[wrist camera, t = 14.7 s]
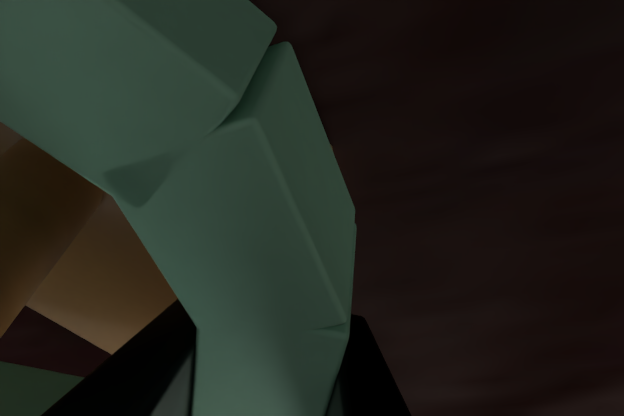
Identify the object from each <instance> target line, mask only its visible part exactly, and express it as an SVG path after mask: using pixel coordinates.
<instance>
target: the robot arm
mask: <svg viewBox="0 0 624 416" xmlns="http://www.w3.org/2000/svg"><path fill="white" fill-rule="evenodd" d="M196 331H197V327H196V326H195V324H194V322H193V321H192V319H191V318H190V316H189V315H188V313H187V312H186V310H185V308H184V307H183V305H182V304H181V302H180V301H179V299H177V300H176V301H174V302H173V303H172V304H171V305H170V306H169V307H167V308H166V309H165V310H164V311H163V312H161V313H160V314H159V315H158V316H157V317H156V318H154V319H153V320H152V321H151V322H150V323H149V324H147V325H146V326H145V327H144V328H143V329H142V330H140V331H139V332H138V333H137V334H136V335H134V336H133V337H132V338H131V339H130V340H129V341H127V342H126V343H125V344H124V345H123V346H122V347H120V348H119V349H118V350H117V351H116V352H114V353H113V354H112V355H111V356H110V357H109V358H107V359H106V360H105V361H104V362H103V363H102V364H100V365H99V366H98V367H97V368H96V369H94V370H93V371H92V372H91V373H90V374H89V375H87V376H86V377H85V378H84V379H83V380H82V381H80V382H79V383H78V384H77V385H76V386H74V387H73V388H72V389H71V390H70V391H69V392H67V393H66V394H65V395H64V396H63V397H62V398H60V399H59V400H58V401H57V402H56V403H55V404H53V405H52V406H51V407H50V408H49V409H47V410H46V411H45V412H44V413H43V414H42V415H40V416H191V403H192V390H193V376H194V363H195V349H196ZM325 416H411V414H410V412H409V410H408V408H407V406H406V404H405V401H404V399H403V397H402V395H401V393H400V391H399V389H398V387H397V385H396V383H395V380H394V378H393V376H392V374H391V372H390V370H389V368H388V366H387V364H386V362H385V360H384V357H383V355H382V353H381V351H380V349H379V347H378V345H377V343H376V341H375V339H374V336H373V334H372V332H371V330H370V328H369V326H368V324H367V322H366V320H365V318H363V317H362V316H358V315H353V314H351V318H350V333H349V339H348V343H347V346H346V350H345V353H344V356H343V360H342V363H341V366H340V370H339V372H338V374H337V378H336V381H335V384H334V388H333V391H332V395H331V398H330V401H329V405H328V408H327V411H326V415H325Z"/></svg>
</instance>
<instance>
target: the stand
mask: <svg viewBox="0 0 624 416" xmlns="http://www.w3.org/2000/svg"><path fill="white" fill-rule="evenodd" d="M330 146H331V148H332V149H333V147H332V145H331V144H330ZM177 299H178V298H177V296H176V295H175V293H174V291H173V290H172V288H171V287H170V285H169V284H168V282H167V281H166V279H165V277H164V276H163V274H162V273H161V271H160V270H159V268H158V267H157V265H156V263H155V262H154V260H153V259H152V257H151V256H150V254H149V253H148V251H147V249H146V248H145V246H144V245H143V243H142V242H141V240H140V239H139V237H138V235H137V234H136V232H135V231H134V229H133V228H132V226H131V225H130V223H129V222H128V220H127V218H126V217H125V215H124V214H123V212H122V211H121V209H120V208H119V206H118V204H117V203H116V201H115V200H114V198H113V197H112V196H111V195H109V194H108V193H106V192H105V191H103V190H102V189H100V188H99V187H97V186H96V185H94V184H93V183H91V182H90V181H88V180H87V179H85V178H84V177H82V176H81V175H80V174H78V173H77V172H75V171H74V170H72V169H71V168H69V167H68V166H66V165H65V164H63V163H62V162H60V161H59V160H57V159H56V158H54V157H53V156H51V155H50V154H48V153H47V152H45V151H44V150H42V149H41V148H39V147H38V146H36V145H35V144H33V143H32V142H30V141H29V140H27V139H26V138H24V137H23V136H21V135H20V134H18V133H17V132H15V131H14V130H12V129H11V128H9V127H8V126H6V125H5V124H3V123H2V122H0V338H1V337H2V335H3V334H4V333H5V331H6V330H7V329H8V327H9V326H10V325H11V323H12V322H13V321H14V319H15V318H16V317H17V315H18V314H19V312H20V311H21V310H22V308H23V307H24V306H25V305H26V306H28V307H30V308H31V309H33V310H35V311H37V312H38V313H40V314H42V315H44V316H45V317H47V318H49V319H51V320H52V321H54V322H56V323H58V324H59V325H61V326H63V327H65V328H66V329H68V330H70V331H72V332H73V333H75V334H77V335H79V336H80V337H82V338H84V339H86V340H87V341H89V342H91V343H93V344H94V345H96V346H98V347H100V348H101V349H103V350H105V351H107V352H108V353H110V354H113V353H114V352H116V351H117V350H118V349H119V348H120V347H122V346H123V345H124V344H125V343H126V342H127V341H129V340H130V339H131V338H132V337H133V336H134V335H136V334H137V333H138V332H139V331H140V330H142V329H143V328H144V327H145V326H146V325H147V324H149V323H150V322H151V321H152V320H153V319H154V318H156V317H157V316H158V315H159V314H160V313H161V312H163V311H164V310H165V309H166V308H167V307H169V306H170V305H171V304H172V303H173V302H174V301H176V300H177Z"/></svg>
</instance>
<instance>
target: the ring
mask: <svg viewBox="0 0 624 416" xmlns="http://www.w3.org/2000/svg"><path fill="white" fill-rule="evenodd" d="M276 30H277V26H276V24H275V22H274V21H272V20H271V19H270V18H269V17H268V16H267V15H265V14H264V13H263V12H262V11H261V10H260V9H258V8H257V7H256V6H255V5H254V4H252V3H251V2H250V1H249V0H0V122H2V123H3V124H5V125H6V126H8V127H9V128H11V129H12V130H14V131H15V132H17V133H18V134H20V135H21V136H23V137H24V138H26V139H27V140H29V141H30V142H32V143H33V144H35V145H36V146H38V147H39V148H41V149H42V150H44V151H45V152H47V153H48V154H50V155H51V156H53V157H54V158H56V159H57V160H59V161H60V162H62V163H63V164H65V165H66V166H68V167H69V168H71V169H72V170H74V171H75V172H77V173H78V174H80V175H81V176H82V177H84V178H85V179H87V180H88V181H90V182H91V183H93V184H94V185H96V186H97V187H99V188H100V189H102V190H103V191H105V192H106V193H108V194H109V195H111V196H112V197H113V198H114V200H115V201H116V203H117V204H118V206H119V208H120V209H121V211H122V212H123V214H124V215H125V217H126V218H127V220H128V222H129V223H130V225H131V226H132V228H133V229H134V231H135V232H136V234H137V235H138V237H139V239H140V240H141V242H142V243H143V245H144V246H145V248H146V249H147V251H148V253H149V254H150V256H151V257H152V259H153V260H154V262H155V263H156V265H157V267H158V268H159V270H160V271H161V273H162V274H163V276H164V277H165V279H166V281H167V282H168V284H169V285H170V287H171V288H172V290H173V291H174V293H175V295H176V296H177V298H178V299H179V301H180V302H181V304H182V305H183V307H184V308H185V310H186V312H187V313H188V315H189V316H190V318H191V319H192V321H193V322H194V324H195V326H196V327H197V331H196V349H195V363H194V376H193V390H192V403H191V416H325V415H326V411H327V408H328V405H329V401H330V398H331V395H332V391H333V388H334V384H335V381H336V378H337V374H338V372H339V370H340V366H341V363H342V360H343V356H344V353H345V350H346V346H347V343H348V339H349V333H350V318H351V302H352V287H353V272H354V257H355V242H356V224H355V223H354V220H355V208H354V205H353V202H352V200H351V197H350V195H349V192H348V190H347V187H346V184H345V182H344V179H343V177H342V174H341V171H340V169H339V166H338V164H337V161H336V159H335V156H334V153H333V151H332V148H331V146H330V143H329V141H328V138H327V135H326V133H325V130H324V128H323V125H322V122H321V120H320V117H319V115H318V112H317V110H316V107H315V104H314V102H313V99H312V97H311V94H310V91H309V89H308V86H307V84H306V81H305V79H304V76H303V73H302V71H301V68H300V66H299V63H298V61H297V58H296V55H295V53H294V50H293V48H292V45H291V44H290V43H289V42H281V43H278V44H275V45H272V46H269V45H270V43H271V41H272V39H273V37H274V35H275V33H276ZM268 46H269V47H268ZM83 379H84V377H79V376H73V375H68V374H63V373H58V372H53V371H48V370H43V369H38V368H33V367H28V366H22V365H17V364H12V363H7V362H2V361H0V416H40V415H42V414H43V413H44V412H45V411H46V410H47V409H49V408H50V407H51V406H52V405H53V404H55V403H56V402H57V401H58V400H59V399H60V398H62V397H63V396H64V395H65V394H66V393H67V392H69V391H70V390H71V389H72V388H73V387H74V386H76V385H77V384H78V383H79V382H80V381H82V380H83Z"/></svg>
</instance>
